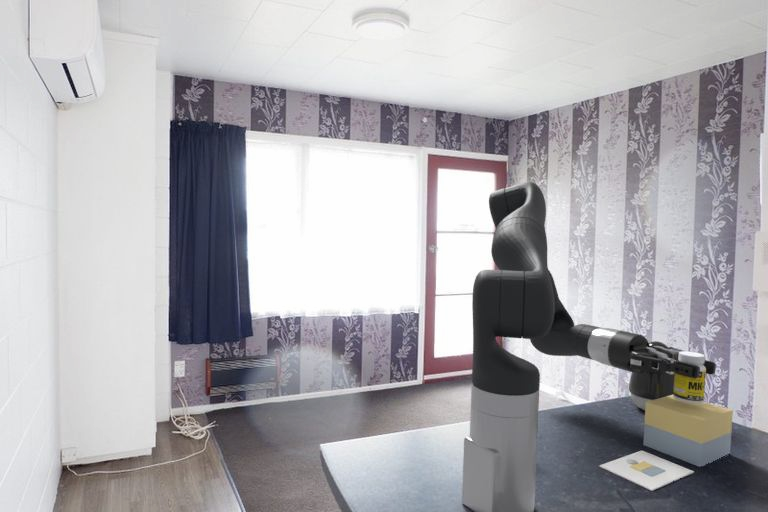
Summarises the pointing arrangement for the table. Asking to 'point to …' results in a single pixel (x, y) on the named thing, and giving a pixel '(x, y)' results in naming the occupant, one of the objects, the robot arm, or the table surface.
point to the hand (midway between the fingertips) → (706, 370)
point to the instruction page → (646, 470)
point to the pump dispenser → (650, 384)
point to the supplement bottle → (690, 380)
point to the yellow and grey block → (688, 430)
